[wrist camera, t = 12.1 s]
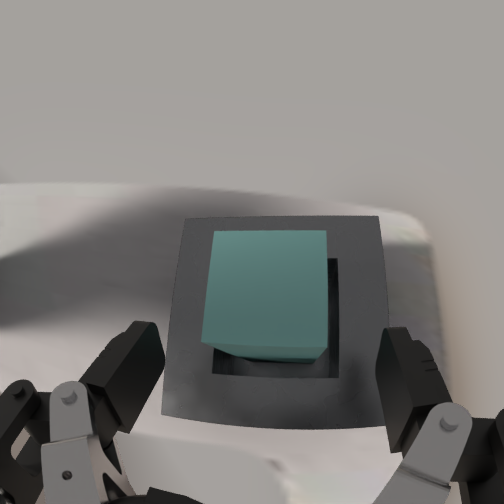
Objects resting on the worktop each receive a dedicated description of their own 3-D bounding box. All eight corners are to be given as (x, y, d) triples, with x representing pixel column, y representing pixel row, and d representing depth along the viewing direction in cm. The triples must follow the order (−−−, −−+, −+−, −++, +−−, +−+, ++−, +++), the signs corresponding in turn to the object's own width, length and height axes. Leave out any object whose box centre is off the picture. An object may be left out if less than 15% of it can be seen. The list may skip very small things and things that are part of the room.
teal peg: (249, 361, 19) (200, 341, 9) (254, 301, 20) (214, 231, 11) (313, 363, 18) (327, 347, 9) (314, 302, 19) (326, 230, 10)
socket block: (198, 407, 19) (161, 414, 13) (212, 258, 23) (185, 218, 18) (362, 413, 17) (387, 425, 11) (360, 257, 21) (378, 215, 16)
